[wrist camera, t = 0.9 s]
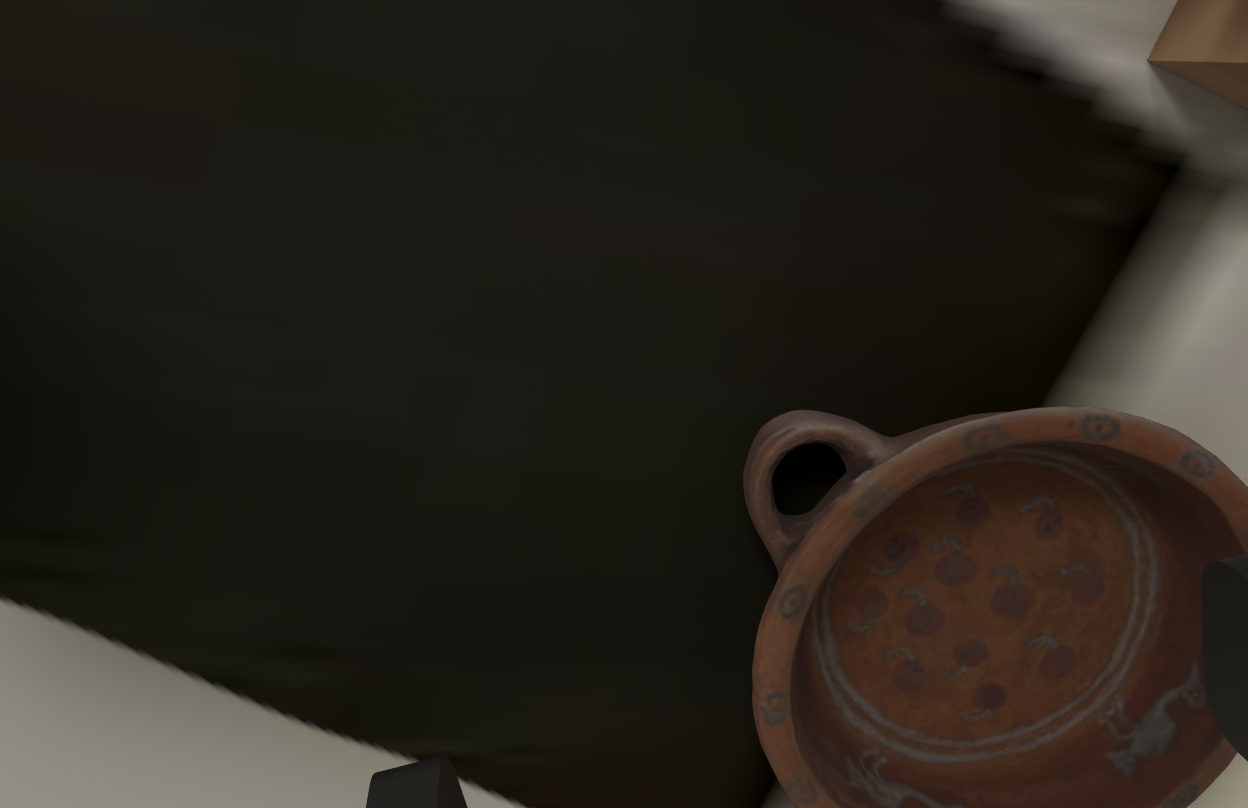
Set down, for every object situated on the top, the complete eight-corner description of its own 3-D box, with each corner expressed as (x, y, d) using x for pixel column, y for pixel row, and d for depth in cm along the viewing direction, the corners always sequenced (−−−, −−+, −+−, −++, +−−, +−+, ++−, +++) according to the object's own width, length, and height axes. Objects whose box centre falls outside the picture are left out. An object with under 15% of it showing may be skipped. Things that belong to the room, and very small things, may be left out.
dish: (1021, 886, 43) (1085, 988, 39) (579, 632, 37) (591, 717, 33) (1327, 560, 40) (1438, 629, 35) (895, 222, 34) (959, 251, 29)
